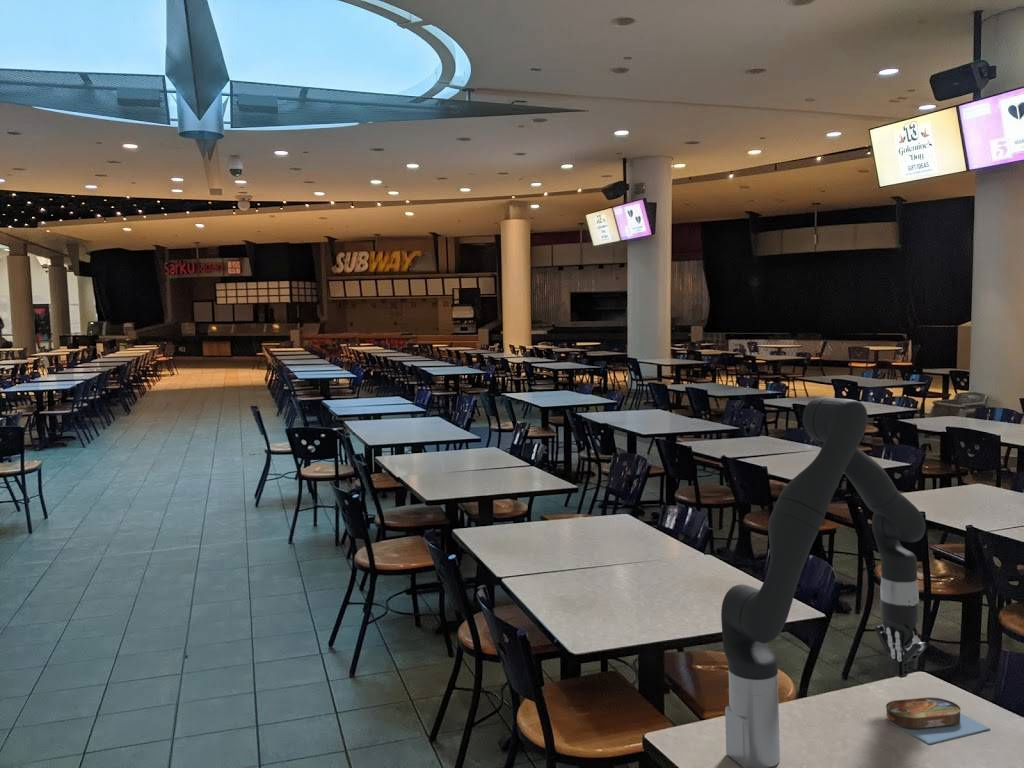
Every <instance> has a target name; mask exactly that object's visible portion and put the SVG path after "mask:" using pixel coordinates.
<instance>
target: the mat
mask: <svg viewBox="0 0 1024 768" xmlns="http://www.w3.org/2000/svg"><path fill="white" fill-rule="evenodd" d="M889 723H890V724H892V725H893V726H895V727H897V728H899V729H901V730H902V731H904V732H905V733H908V734H910V735H911V736H913V737H915V738H917V739H919V741H920V740H921V741H922V742H924V743H925V744H927V745H930V746H931V745H933V744H937V743H941V742H946V741H949V740H950V741H951V740H954V739H957V738H958V739H959V738H962V737H965V736H969V735H974V734H978V733H982V732H986V731H990V730H991V727H988V726H987V725H985V724H983V723H981V722H979V721H977V720H974V719H973V718H970V717H969V716H966V715H965V714H964V713H961V712H960V722H959V723H958V724H956V725H953V726H945V727H935V728H925V729H908V728H903V727H900V726H897V725H896V724H894V723H893V722H891V721H890V720H889Z"/></svg>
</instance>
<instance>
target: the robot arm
mask: <svg viewBox="0 0 1024 768" xmlns="http://www.w3.org/2000/svg"><path fill="white" fill-rule="evenodd" d="M868 417H869V416H868V411H867V408H866V406H865V405H864V404H863V403H862V402H860V401H858V400H855V399H851V398H850V399H849V398H838V397H837V398H836V397H827V396H826V397H816V398H813V399H811V400H810V401H809V402H808V403H807V404H806V406H805V407H804V410H803V413H802V423H803V427H804V429H805V432H806V433H807V435H808V436H809V437H810V439H811V440H813V442H814V443H815V444H816V445H817V446H818V447H819V448H821V449H820V450H819V452H818V454H817V456H816V457H815V458H814V460H812V462H811V463H810V464H809V465H808V466H807V467H805V468H804V469H803V470H802V471H800V472H799V473H798V474H797V475H796V476H795V477H793V478H792V479H791V480H790V481H789V482H788V483H787V484H786V486H784V487H783V489H782V490H781V492H780V493H779V495H778V498H777V500H776V502H775V505H774V507H773V509H772V511H771V514H770V516H769V520H768V525H767V526H768V527H767V528H768V545H769V555H770V558H769V565H768V570H767V573H766V575H765V578H764V580H763V583H762V585H761V588H759V589H758V588H756V587H753V586H750V585H747V584H736V585H734V586H732V587H731V588H729V589H728V591H727V592H726V593H725V596H724V598H723V600H722V602H721V603H722V604H721V610H720V611H721V613H720V617H721V618H720V619H721V632H722V633H721V634H722V635H721V636H722V644H723V645H722V646H723V653H724V655H725V657H726V660H727V668H728V699H729V700H728V702H729V703H728V704H729V705H727V706H725V708H724V712H725V713H724V717H725V719H724V720H725V749H726V751H725V753H726V755H727V756H728V757H729V758H731V759H732V760H733V761H735V763H737V764H738V765H739V766H740V767H742V768H773V767H775V766H777V765H779V763H780V761H781V749H780V748H781V747H780V745H781V744H780V743H781V742H780V711H779V706H780V705H779V704H780V703H779V671H778V670H779V669H778V668H779V665H778V659H777V656H776V655H775V653H774V652H772V650H771V649H770V648H769V646H768V645H767V643H772V642H773V641H774V640H775V639H777V637H778V636H780V634H781V633H782V630H783V629H784V627H785V625H786V622H787V620H788V617H789V613H790V610H791V608H792V604H793V600H794V597H795V594H796V590H797V588H798V587H797V586H798V584H799V581H800V577H801V575H802V572H803V569H804V567H805V564H806V562H807V559H808V556H809V554H810V551H811V549H812V546H813V544H814V542H815V540H816V538H817V537H818V533H819V531H820V528H821V526H822V524H823V522H824V519H825V517H826V514H827V512H828V508H829V506H830V504H831V501H832V499H833V497H834V494H835V492H836V490H837V488H838V485H839V483H840V481H841V479H842V477H843V476H844V475H845V476H846V477H847V478H848V480H849V481H850V483H851V484H852V486H853V487H854V489H855V490H856V491H857V494H858V495H859V496H860V498H861V499H862V501H863V503H864V504H865V505H866V507H867V508H868V509H869V510H870V511H871V512H873V515H872V517H871V518H872V519H871V529H872V534H873V535H874V540H875V543H876V546H877V550H878V552H879V555H880V556H879V557H880V565H881V566H880V569H881V571H880V572H881V575H880V577H881V578H880V579H881V580H880V617H881V619H882V624H880V625H878V626H875V627H874V630H875V633H876V635H877V638H878V639H879V641H880V643H881V646H882V647H883V649H884V652H885V653H887V654H890V656H891V659H892V671H893V674H894V676H896V677H898V678H899V679H902V678H906V677H908V675H909V662H911V661H916V660H917V659H918V658H919V657H920V656H921V654H922V653H924V651H925V649H927V647H928V644H927V642H925V641H921V639H920V637H919V630H918V629H917V623H918V622H919V621H920V601H919V600H920V599H919V597H920V595H919V593H920V592H919V590H920V589H919V584H918V558H917V556H916V555H915V554H914V552H912V551H910V550H908V549H907V548H905V547H903V546H902V544H901V542H905V543H916V542H918V541H920V540H921V539H922V538H923V537H924V535H925V533H926V528H927V527H926V526H927V525H926V522H925V521H926V520H925V518H924V516H923V514H922V513H921V511H920V510H919V509H918V507H916V506H915V505H914V504H913V503H912V502H911V501H910V500H909V499H908V498H906V497H905V496H904V495H903V494H902V493H901V492H899V490H898V488H897V487H896V485H895V484H894V482H893V480H892V478H890V476H889V475H888V473H887V472H886V471H885V469H884V468H883V467H882V466H881V465H880V464H879V463H878V462H877V461H875V460H874V459H873V458H872V457H870V456H869V455H868V454H866V453H865V452H864V451H863V450H862V449H861V448H860V447H859V446H860V443H861V441H862V439H863V437H864V435H865V432H866V430H867V426H868V421H869V420H868Z"/></svg>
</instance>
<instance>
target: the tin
mask: <svg viewBox="0 0 1024 768" xmlns="http://www.w3.org/2000/svg"><path fill="white" fill-rule="evenodd" d="M885 708H886V719H888V720H889V722H890V721H891V722H893V723H894V724H896V725H897V726H900V727H903V728H908V729H925V728H935V727H945V726H953V725H956V724H958V723H959V722H960V713H961V707H960V706H959V705H958V704H957V703H956V702H953V701H950V700H948V699H945V698H944V699H943V698H940V697H929V696H928V697H918V698H908V699H907V698H906V699H897V700H896V699H895V700H892V701H889V702H888V703H886V705H885ZM897 726H896V727H897Z"/></svg>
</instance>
